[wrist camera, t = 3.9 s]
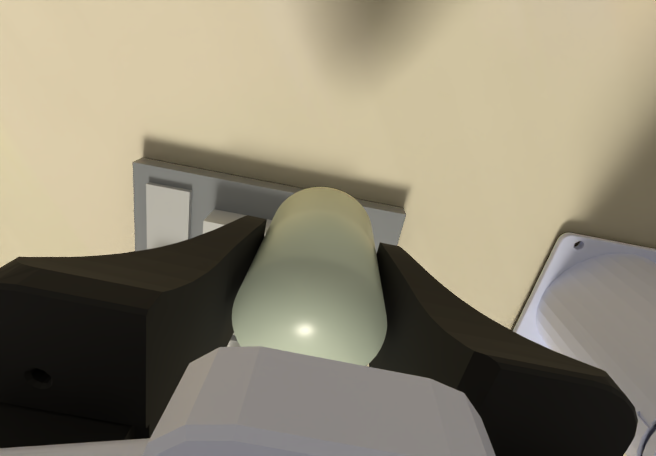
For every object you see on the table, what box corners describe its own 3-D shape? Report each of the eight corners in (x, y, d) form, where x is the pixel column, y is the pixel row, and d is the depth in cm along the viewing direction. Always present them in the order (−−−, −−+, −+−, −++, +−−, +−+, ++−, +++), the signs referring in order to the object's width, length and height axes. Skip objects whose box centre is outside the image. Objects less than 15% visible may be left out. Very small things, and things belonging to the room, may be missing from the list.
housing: (403, 207, 20) (425, 261, 14) (341, 419, 27) (341, 511, 21) (142, 157, 19) (62, 193, 14) (146, 386, 26) (93, 471, 21)
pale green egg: (385, 200, 13) (407, 276, 8) (357, 287, 14) (363, 396, 9) (280, 175, 12) (242, 240, 8) (264, 267, 14) (223, 367, 9)
